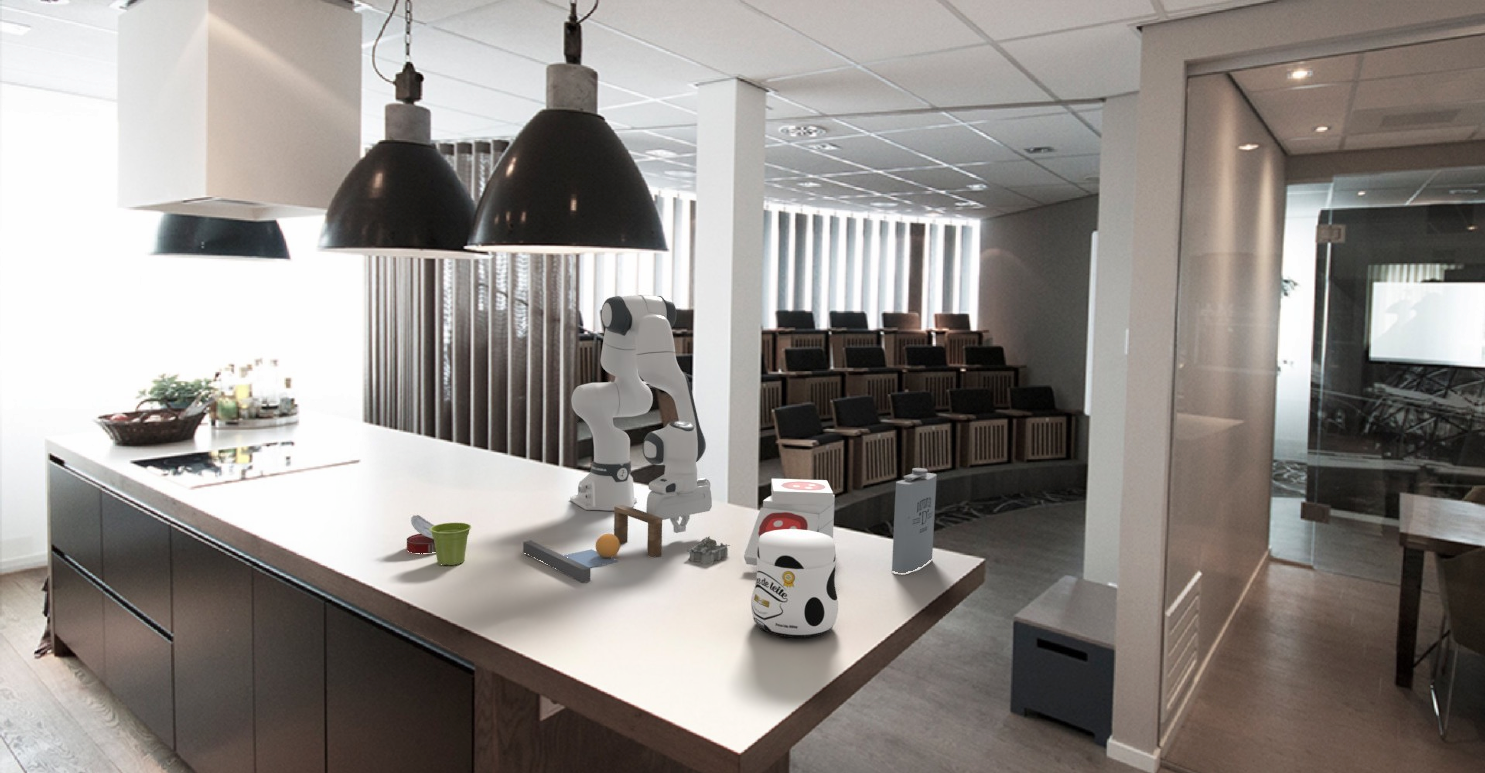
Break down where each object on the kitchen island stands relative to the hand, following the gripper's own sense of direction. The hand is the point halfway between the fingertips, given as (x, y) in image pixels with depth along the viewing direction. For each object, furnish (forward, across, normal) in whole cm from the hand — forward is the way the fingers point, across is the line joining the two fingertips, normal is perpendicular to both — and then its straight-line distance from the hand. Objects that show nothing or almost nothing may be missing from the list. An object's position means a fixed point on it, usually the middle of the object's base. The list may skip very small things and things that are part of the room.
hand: (679, 531), depth 222 cm
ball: (-1, +24, +2) cm, 24 cm away
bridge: (+2, +14, 0) cm, 14 cm away
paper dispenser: (+2, -12, +31) cm, 33 cm away
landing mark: (+2, +30, 0) cm, 30 cm away
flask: (+2, -32, +54) cm, 63 cm away
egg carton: (+3, +4, +17) cm, 17 cm away
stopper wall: (+2, +38, 0) cm, 38 cm away
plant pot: (+2, +56, -18) cm, 59 cm away
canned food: (+2, +56, -32) cm, 65 cm away
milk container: (+2, +20, +62) cm, 65 cm away
